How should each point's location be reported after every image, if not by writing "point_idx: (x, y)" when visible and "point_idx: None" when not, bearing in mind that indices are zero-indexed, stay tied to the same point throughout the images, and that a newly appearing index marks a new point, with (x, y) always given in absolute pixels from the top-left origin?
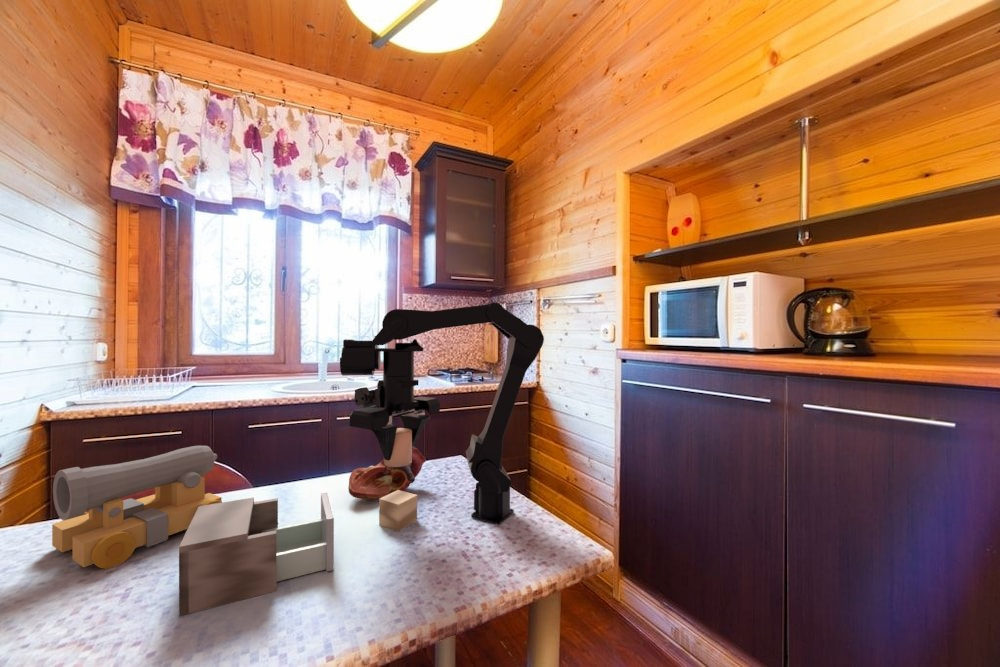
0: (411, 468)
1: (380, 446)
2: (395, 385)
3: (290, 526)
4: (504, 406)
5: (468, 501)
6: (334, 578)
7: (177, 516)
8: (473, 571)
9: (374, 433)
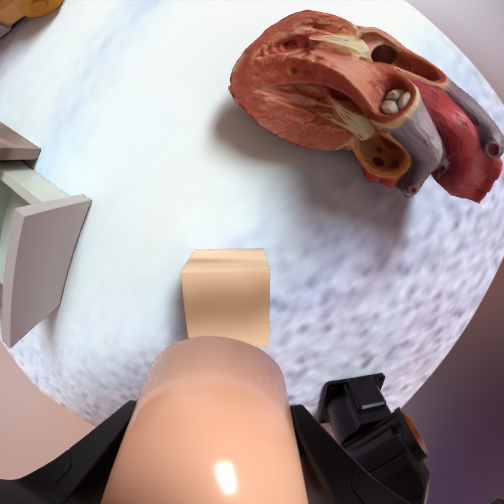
0: (438, 169)
1: (83, 442)
2: None
3: (13, 188)
4: None
5: (392, 334)
6: (57, 317)
7: (5, 12)
8: None
9: (21, 479)
